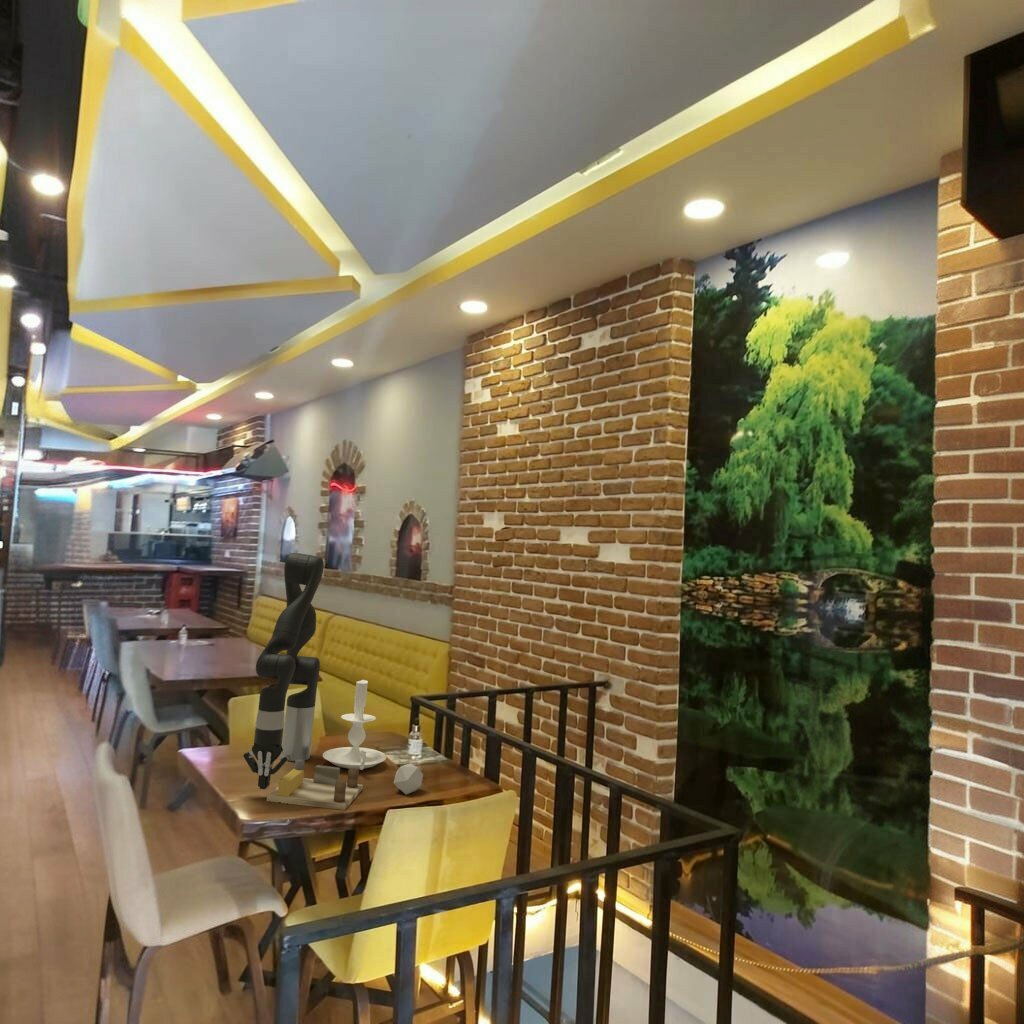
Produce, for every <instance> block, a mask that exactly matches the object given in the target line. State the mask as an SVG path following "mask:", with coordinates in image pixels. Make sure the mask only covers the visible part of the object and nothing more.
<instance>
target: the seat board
mask: <svg viewBox="0 0 1024 1024" xmlns="http://www.w3.org/2000/svg"><path fill="white" fill-rule="evenodd" d="M347 770H348V771H347V772H348V773H347V781H346V780H340V774H341V767H339V766H328V765H320V764H318V765H315V767H314V773H313V778H309V777H307V778H306V777H303V784H301V785H300V786H299V787H298V788H297V789H296V790H295V791H294V792H292V793H291V794H290V795H289V796H281V795H277V794H278V786H276V788H275V789H274V790H272V791H271V792H270V793H269V794H268V795H267V794H266V795H267V796H266V802H269V801H270V803H271V802H272V803H278V802H281V804H287V803H288V804H289V805H296V806H297V805H298V806H307V807H313V808H315V807H316V808H322V809H323V808H324V809H332V810H340V811H341V810H342V811H346V809H347V808H348V807H349V806H350V805H351V803H353V802H354V800H355V799H356V798H357V796H358V795H360V793H361V791H362V790H363V786H364V785H363V784H359V773H360V769H358V768H348V769H347Z"/></svg>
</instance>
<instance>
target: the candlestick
mask: <svg viewBox="0 0 1024 1024" xmlns="http://www.w3.org/2000/svg"><path fill="white" fill-rule="evenodd" d="M355 683H356V684H355V692H354V700H353V701H354V707H353V711H354V713H345V714H343V715H341V716H340V718H341V719H342V720H344V721H347V722H351V724H352V725H351V728H350V729H349V731H348V733H347V739H348V742H349V743H350V745H351V746H346V747H344V746H343V747H336V748H335V747H334V748H331V749H327V750H326V751H324V752H323V753H322V757H323V759H324V760H326V761H328V762H330V763H331V764H333V765H335V767H338V768H344V769H349V768H358V769H359V771H360V770H361V771H363V770H364V769H368V768H372V767H375V766H376V765H379V764H380V763H383V762H384V761H386V759H387V755H386V754H385V753H383V752H382V751H379V750H376V749H374V748H368V747H360V745H362V743H364V741H365V739H366V735H367V734H366V731H365V729H364V724H365V723H368V722H373V721H375V720H377V717H376V716H375V715H371V714H367V713H364V712H365V707H366V706H367V705H366V704H367V695H368V694H367V693H368V686H369V685H368V683H369V681H368V680H366V679H361V680H358V681H356V682H355Z"/></svg>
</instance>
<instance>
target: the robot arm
mask: <svg viewBox="0 0 1024 1024" xmlns="http://www.w3.org/2000/svg"><path fill="white" fill-rule="evenodd" d="M324 565H325V563H324V560H323V557H321V556H318V555H312V554H305V553H299V552H290V553H289V554H288V555H287V556H286V558H285V562H284V565H283V567H284V569H283V570H284V571H283V573H284V574H283V575H284V576H283V577H284V587H285V595H286V607H285V609H283V611H282V612H281V613H280V615H279V616H278V618H277V621H276V622H275V625H274V630H273V631H272V635H271V638H270V639H269V641H268V643H267V644H266V646H265V647H264V649H263V650H262V652H261V653H260V655H259V657H257V661H256V662H255V672H256V674H257V676H258V677H259V678H262V679H266V680H267V679H268V680H269V679H270V680H278V681H277V684H276V685H275V686H266V687H263V688H262V689H261V690H260V693H259V700H258V710H257V714H256V720H255V729H254V738H253V745H252V746H251V750H249V751H246V752H244V754H243V759H244V760H245V762H246V763H247V765H248V766H249V768H250V770H251V772H252V773H254V774H255V773H256V774H257V775H258V779H257V781H258V782H257V786H258V787H259V789H260V790H267V788H268V787H269V786H270V784H271V775H275V774H276V773H277V772H279V770H281V768H282V767H283V766H284V765H286V763H287V762H288V761H290V762H295V761H296V760H297V759H303V760H305V761H307V760H309V759H310V758H311V750H312V740H313V732H314V731H313V729H314V719H315V709H316V708H315V707H316V698H317V687H318V682H319V675H320V670H321V669H320V668H321V663H320V662H321V661H320V659H319V657H314V656H301V655H298V654H299V653H300V651H301V650H302V648H304V647H305V645H306V644H307V643H308V642H310V640H311V639H312V638H313V637H314V635H315V633H316V631H317V613H316V610H315V607H314V606H313V604H312V601H313V600H314V597H315V595H316V593H317V590H318V588H319V586H320V583H321V581H322V577H323V573H324V570H325V569H324V568H325V567H324ZM301 585H302V586H303V585H304V589H303V590H302V588H301ZM284 651H286V654H283V653H280V652H284ZM290 685H299V686H300V685H301V686H302V685H303V686H306V688H305V689H303V690H301V691H299V692H295V693H292V694H290V695H288V696H287V692H288V689H289V686H290ZM286 698H287V699H286ZM285 706H286V707H285ZM277 759H278V761H279V762H278V763H277V764H276V765H275V766H274V763H275V761H276V760H277ZM256 760H257V761H256ZM273 766H274V767H273Z"/></svg>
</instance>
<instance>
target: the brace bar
mask: <svg viewBox="0 0 1024 1024" xmlns="http://www.w3.org/2000/svg"><path fill="white" fill-rule="evenodd" d="M305 761H306V760H303V759H297V760H296V761H294V768H293V769H291V770H290V771H289V772H288V773H286V774H285V775H284V776H283V777H282V778H279V780H278V786H277V787H278V794H277V795H281V796H289V795H290V794H291V793H292V792H294V791H295V790H296V789H297V788H298V787H299V786H300V785H301V784H303V778H305V777H304V776H305Z"/></svg>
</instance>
